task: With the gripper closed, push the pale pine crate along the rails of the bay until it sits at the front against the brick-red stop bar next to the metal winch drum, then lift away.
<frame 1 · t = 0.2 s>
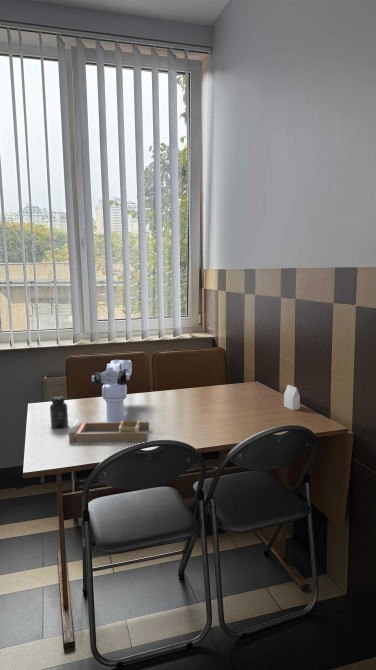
hand: (107, 382, 180), 21 cm above the table, tool horizontal, fingers open, 7 cm apart
supplement bottle: (59, 426, 197), on the table
crate: (129, 429, 184), point 3 cm above the table, slide at 0.0 cm
bay: (113, 436, 184), on the table
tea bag: (291, 408, 219), on the table
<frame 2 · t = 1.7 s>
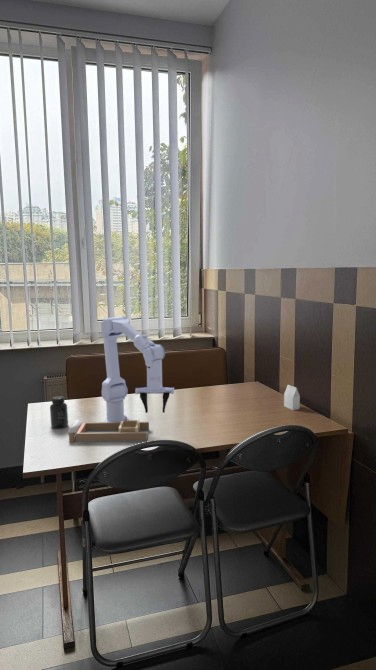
hand: (155, 411, 183), 9 cm above the table, tool pointing down, fingers open, 6 cm apart
nothing on the table moved.
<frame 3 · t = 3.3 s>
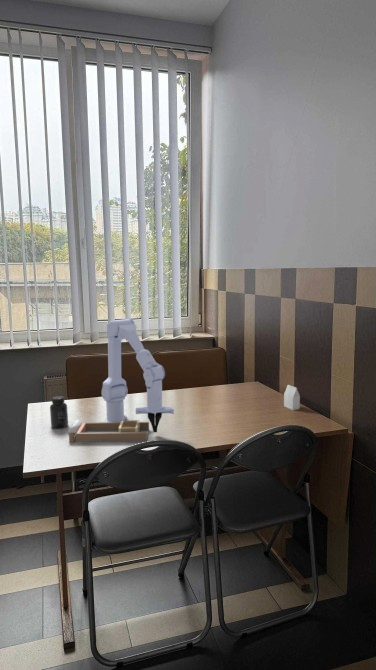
hand: (155, 431, 184), 2 cm above the table, tool pointing down, fingers closed
nothing on the table moved.
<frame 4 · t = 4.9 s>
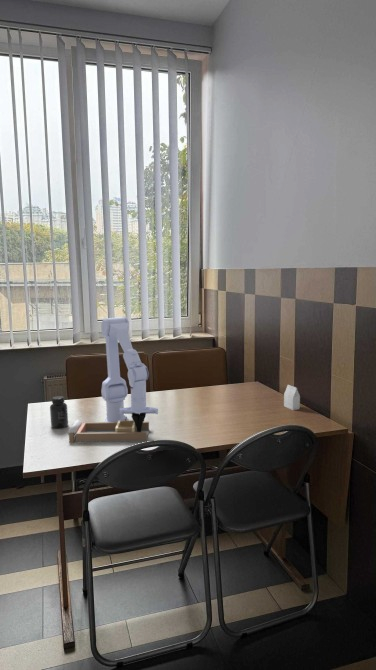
hand: (139, 431, 184), 2 cm above the table, tool pointing down, fingers closed
crate: (126, 429, 184), point 3 cm above the table, slide at 1.3 cm, touching gripper
everything else where it was.
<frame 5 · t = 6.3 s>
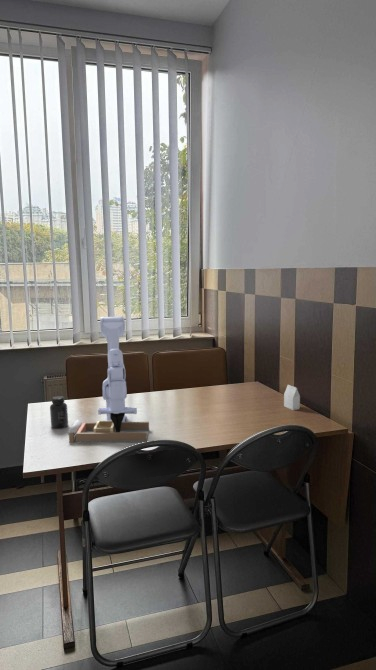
hand: (118, 431, 184), 2 cm above the table, tool pointing down, fingers closed
crate: (105, 429, 184), point 3 cm above the table, slide at 9.4 cm, touching gripper
everything else where it was.
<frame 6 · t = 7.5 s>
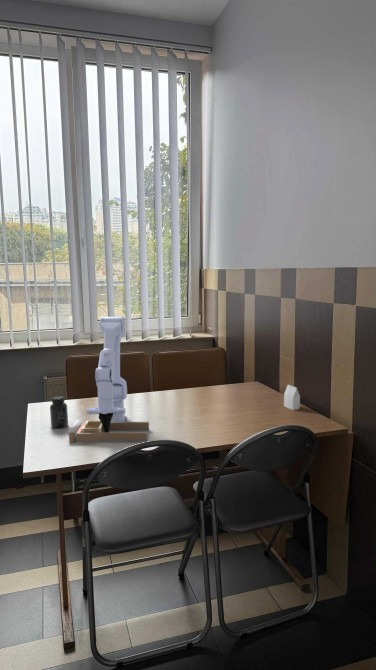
hand: (106, 432, 184), 2 cm above the table, tool pointing down, fingers closed
crate: (93, 429, 184), point 3 cm above the table, slide at 13.7 cm, touching gripper
everything else where it was.
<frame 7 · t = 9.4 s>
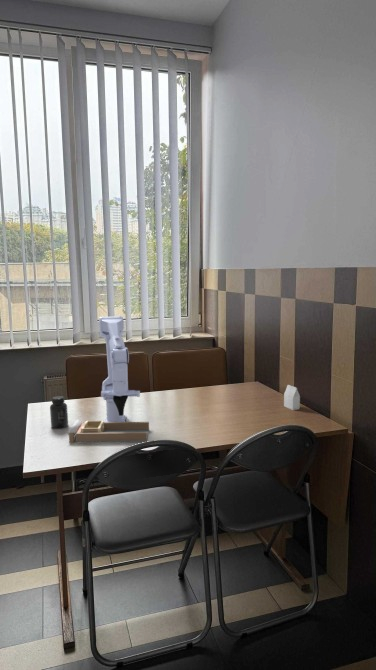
hand: (121, 414, 183), 8 cm above the table, tool pointing down, fingers closed
crate: (92, 429, 184), point 3 cm above the table, slide at 14.0 cm
everything else where it was.
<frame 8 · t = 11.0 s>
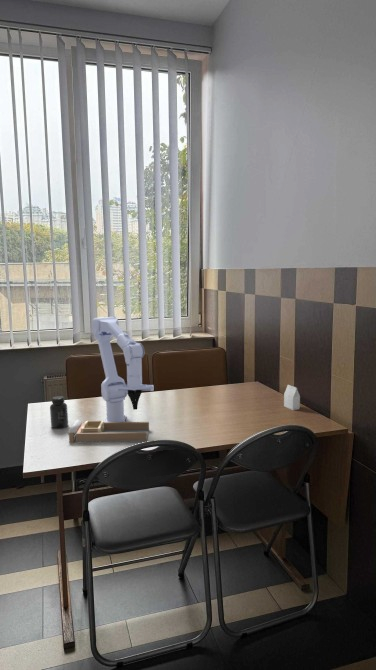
hand: (135, 408, 187), 9 cm above the table, tool pointing down, fingers closed
nothing on the table moved.
at the end: crate slide at 14.0 cm; supplement bottle moved 0.2 cm from its start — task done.
